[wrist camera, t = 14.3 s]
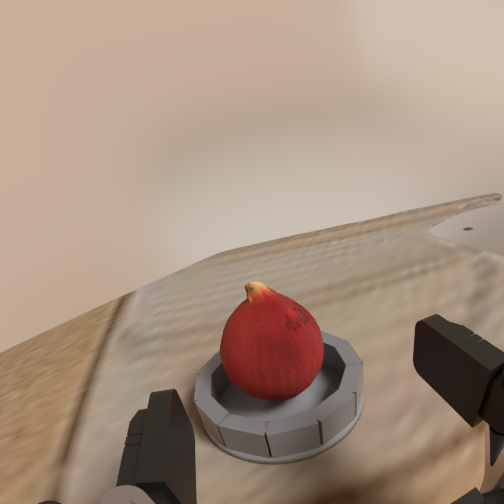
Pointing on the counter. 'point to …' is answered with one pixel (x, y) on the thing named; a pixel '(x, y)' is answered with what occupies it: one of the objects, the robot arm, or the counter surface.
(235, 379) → the onion
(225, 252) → the counter surface
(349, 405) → the grey round tray
